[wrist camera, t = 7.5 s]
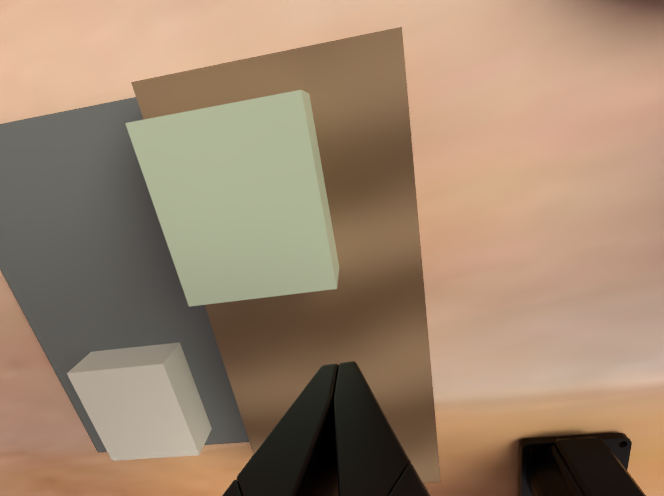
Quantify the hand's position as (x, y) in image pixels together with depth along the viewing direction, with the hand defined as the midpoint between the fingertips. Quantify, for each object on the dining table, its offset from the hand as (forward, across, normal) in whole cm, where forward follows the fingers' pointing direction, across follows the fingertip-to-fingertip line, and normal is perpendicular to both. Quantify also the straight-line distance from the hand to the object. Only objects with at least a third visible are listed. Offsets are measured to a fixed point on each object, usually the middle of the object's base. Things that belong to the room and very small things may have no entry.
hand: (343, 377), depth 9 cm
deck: (+11, +2, +2) cm, 11 cm away
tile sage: (+7, +3, -4) cm, 9 cm away
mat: (+11, +14, +2) cm, 18 cm away
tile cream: (+8, +15, +8) cm, 19 cm away
